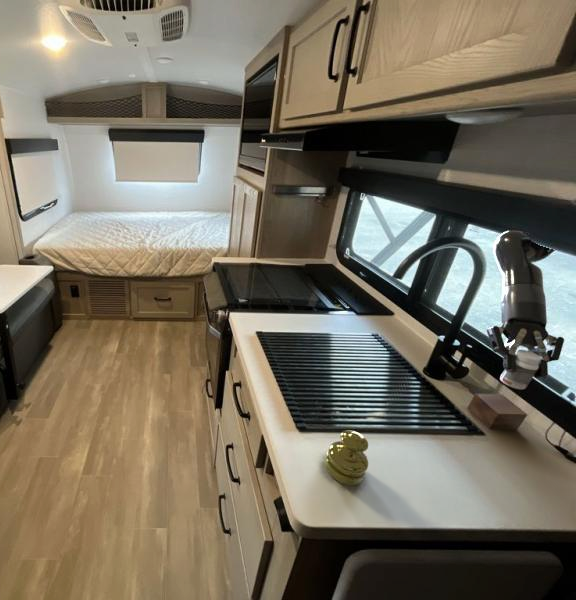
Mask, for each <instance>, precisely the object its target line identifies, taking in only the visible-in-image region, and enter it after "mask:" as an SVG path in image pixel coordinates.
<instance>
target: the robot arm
mask: <svg viewBox="0 0 576 600" xmlns="http://www.w3.org/2000/svg"><path fill="white" fill-rule="evenodd" d="M570 202H571V203H572V204H574V205H576V198H575V199H573V200H572V201H570ZM523 232H524V231H520V230H514V229H513V230H507V231H504V232H503V233H501V234H499V236H498V237H497V238H496V240H495V241H494V244H493V248H492V249H493V255H494V258H495V261H496V264H497V266H498V269H499V272H500V273H501V276H502V277H501V278H502V290H501V291H502V292H501V298H500V299H501V301H500V305H501V306H500V307H501V324H502V325H501V326H497V325H494V326H491V327H489V328H487V329H486V333H487V336H488V340H489V342H490V345H491V349H492V351H493V352H494V353H498V354H500V355H502V360H503V361H502V367H503V369H504V370H505V369H506V372H510V373H512V372H515V371H516V356H515V354H516V353H517V351H518V348H519V347H524V348H525V349H527V351H530V352H533V353H535V354H537V355H539V356H540V357H541V361H540V362H539V364H538V366H539V368H538V370H537V371H536V373H535V375H534V376H533V378H536V379H545V378H546V377H547V376H548V374H549V368H548V366H549V365H548V363H551V362H553V361H559V360H560V357H561V353H562V350H563V347H564V343H565V338H564V337H563V336H557V337H556V336H554V335H551V334H549V332H548V331H547V329H546V327H547V324H548V317H547V301H546V294H545V290H544V276H543V270H542V269H541V268H540V267H539V266H537V265H536V264H534V263H536V262H537V263H538V262H540V261H542V260H545V259H546V258H548V257H549V256H550V255H552V253H553V254H554V252H555V251H556V250H553V249H549V248H546V247H543V246H540V245H538V244H536V243H534V242H532V241H531V240H530V238H529V237H528V236H527V235H526V234H524V233H523ZM502 335H504V337H505V338H506V339H505V342H504V339H503V336H502ZM544 341H546V342H544ZM546 345H547V346H546Z"/></svg>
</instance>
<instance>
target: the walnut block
mask: <svg viewBox="0 0 576 600" xmlns="http://www.w3.org/2000/svg"><path fill="white" fill-rule="evenodd" d="M467 409H468V410H469V411H470V412H471V413H472V414H473V415H474V416H475V417H476V418H477V419H479V421H481V423H482V424H483V425H484V426H486V427H487V428H488V429H489V430H516V431H517V430H518V429H519V428H520V426H522V423H523V422H524V421H525V420H526V418H527V417H528V413H526V412H525V411H524V410H522V409H521V408H520V407H519V406H518V405H517V404H515V403H514V402H513V401H512V400H511V399H509V398H508V397H506V396H505V395H504V394H502V393H475V394H474V395H473V396H472V399H471V400H470V402H469V404H468V405H467Z"/></svg>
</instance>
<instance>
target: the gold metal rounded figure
mask: <svg viewBox="0 0 576 600" xmlns="http://www.w3.org/2000/svg"><path fill="white" fill-rule="evenodd" d="M368 449H369V441H368V440H367V438H366V437H365V436H364V435H362V434H361V433H360V432H358V431H355V430H350V429H346V430H343V431H342V432H341V434H340V440H339V441H334V442H333V443H331V444H330V445H329V447H328V451H327V453H326V457H325V459H324V466H325V469H326V471H327V472H328V474H329V475H330V476H331V478H332V479H334V480H335V481H337V482H339V483H341V484H344V485H346V486H356V485H359V484H361V482H362V481H363V478H364V477H365V475H366V471H367V470H368V468H369V460H368V457H367V455H366V454H365V453H364V452H366V451H367V450H368Z"/></svg>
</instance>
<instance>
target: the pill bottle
mask: <svg viewBox="0 0 576 600" xmlns="http://www.w3.org/2000/svg"><path fill="white" fill-rule="evenodd" d="M514 356H516V371H515V372H512V373H510V372H506V369H504V370H503V371H502V373H501V374H500V377H499V380H500V381H501V382H502V383H503V384H504V385H505V386H507V387H510V388H512V389H516V390H525V389H526V388H527V387H528V385H529V384H530V382H531V381H532V380H533V378H534V375H535V373H536V371H537V370H538V368H539V366H538V364H539V362H540V361H541V357H540V356H539V355H537V354H535V353H533V352H530V351H528V349H527V350H526V349H517V350H516V352H515V354H514Z"/></svg>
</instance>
